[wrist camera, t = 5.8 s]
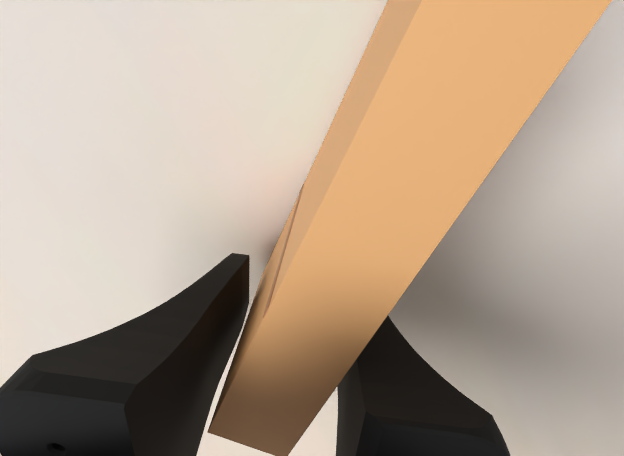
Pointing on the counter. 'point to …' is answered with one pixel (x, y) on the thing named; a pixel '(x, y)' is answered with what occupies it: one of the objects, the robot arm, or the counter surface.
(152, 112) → the counter surface
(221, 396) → the orange rectangular block
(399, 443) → the robot arm
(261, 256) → the counter surface
